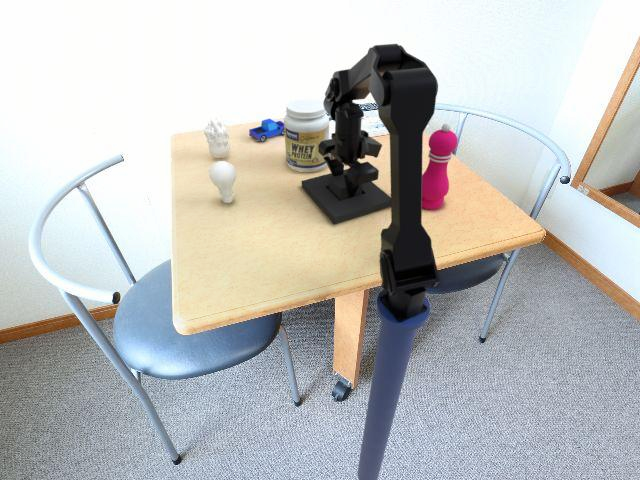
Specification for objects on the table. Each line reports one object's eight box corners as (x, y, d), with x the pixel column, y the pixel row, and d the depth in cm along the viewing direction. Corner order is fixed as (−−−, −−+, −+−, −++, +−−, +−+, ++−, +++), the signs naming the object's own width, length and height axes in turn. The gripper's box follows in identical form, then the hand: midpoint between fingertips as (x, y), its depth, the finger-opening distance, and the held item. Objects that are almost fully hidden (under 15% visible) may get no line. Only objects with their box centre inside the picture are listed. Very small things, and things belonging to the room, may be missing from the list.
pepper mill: (451, 205, 89) (472, 126, 76) (428, 214, 86) (447, 133, 74) (430, 191, 94) (447, 114, 81) (408, 199, 91) (422, 121, 78)
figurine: (213, 151, 113) (205, 112, 105) (234, 151, 113) (228, 112, 105) (207, 162, 107) (198, 122, 100) (230, 162, 107) (223, 122, 100)
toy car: (290, 134, 122) (289, 119, 118) (259, 144, 116) (257, 129, 113) (279, 128, 126) (278, 113, 122) (248, 137, 120) (246, 122, 117)
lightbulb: (219, 195, 94) (211, 156, 86) (243, 196, 93) (236, 156, 86) (213, 209, 89) (203, 168, 82) (237, 210, 88) (230, 169, 81)
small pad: (361, 197, 91) (362, 183, 89) (340, 203, 89) (340, 189, 86) (349, 185, 95) (350, 172, 93) (328, 191, 93) (329, 177, 91)
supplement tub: (281, 171, 103) (275, 111, 92) (293, 152, 112) (290, 95, 101) (323, 176, 100) (323, 115, 89) (332, 156, 109) (333, 98, 99)
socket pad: (392, 206, 89) (393, 199, 88) (334, 224, 84) (334, 217, 82) (354, 173, 102) (354, 166, 100) (301, 187, 96) (301, 180, 95)
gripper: (402, 139, 78) (394, 201, 88) (357, 110, 91) (354, 167, 101) (357, 150, 74) (354, 213, 84) (316, 119, 87) (317, 176, 97)
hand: (345, 190), depth 91 cm, fingers closed on small pad, 6 cm apart
